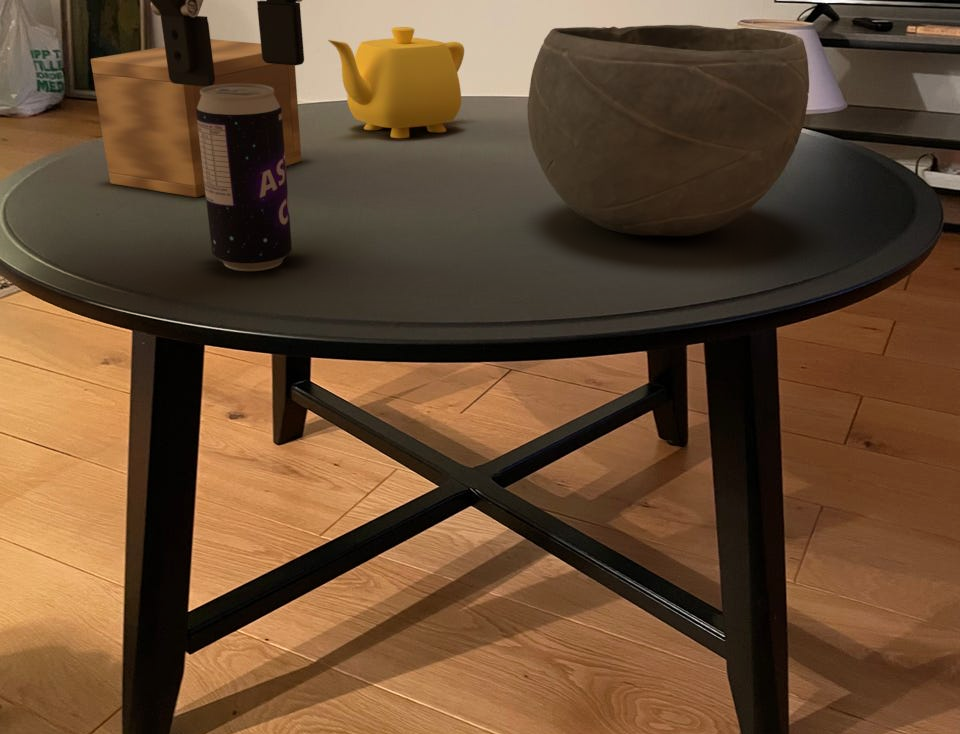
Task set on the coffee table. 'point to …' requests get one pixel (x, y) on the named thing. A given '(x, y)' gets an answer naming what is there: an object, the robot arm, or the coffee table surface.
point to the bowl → (666, 122)
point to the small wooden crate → (176, 114)
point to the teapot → (402, 82)
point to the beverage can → (244, 175)
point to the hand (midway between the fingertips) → (240, 73)
